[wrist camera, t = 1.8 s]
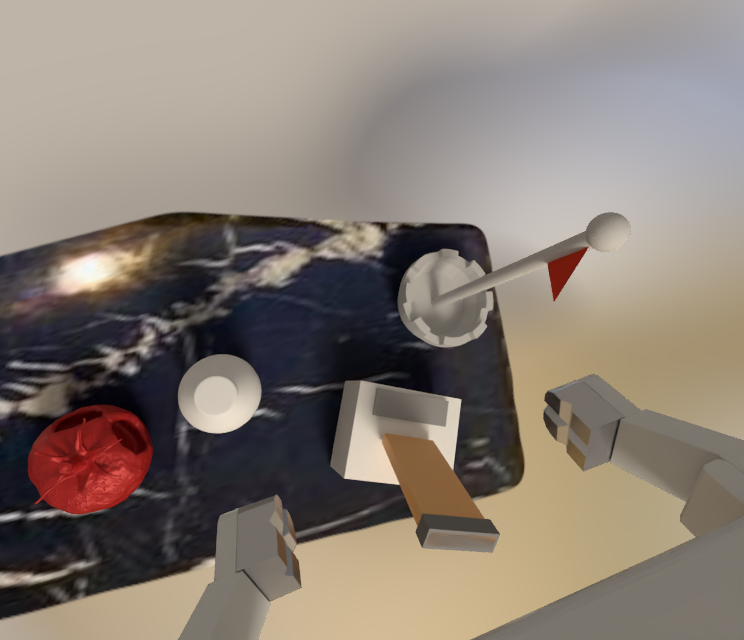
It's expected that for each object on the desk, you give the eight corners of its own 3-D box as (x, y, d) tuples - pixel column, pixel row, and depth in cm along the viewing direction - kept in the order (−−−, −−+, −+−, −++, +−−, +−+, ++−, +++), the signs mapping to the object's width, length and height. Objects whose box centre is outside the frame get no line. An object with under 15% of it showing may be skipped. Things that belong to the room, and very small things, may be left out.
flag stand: (410, 245, 56) (578, 107, 28) (482, 286, 59) (699, 198, 31) (376, 324, 53) (531, 257, 25) (455, 364, 56) (673, 343, 28)
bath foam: (213, 433, 44) (194, 469, 26) (181, 382, 44) (138, 380, 25) (267, 399, 47) (285, 409, 28) (237, 350, 47) (235, 327, 28)
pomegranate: (130, 511, 41) (101, 549, 32) (27, 481, 38) (-35, 513, 30) (176, 421, 43) (160, 433, 35) (81, 388, 41) (39, 392, 32)
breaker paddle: (430, 452, 45) (492, 552, 32) (379, 444, 43) (422, 548, 30) (435, 438, 44) (500, 534, 31) (383, 430, 43) (429, 528, 30)
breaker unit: (423, 476, 52) (453, 491, 44) (330, 465, 48) (345, 479, 41) (434, 397, 54) (463, 399, 47) (345, 380, 50) (362, 380, 43)
